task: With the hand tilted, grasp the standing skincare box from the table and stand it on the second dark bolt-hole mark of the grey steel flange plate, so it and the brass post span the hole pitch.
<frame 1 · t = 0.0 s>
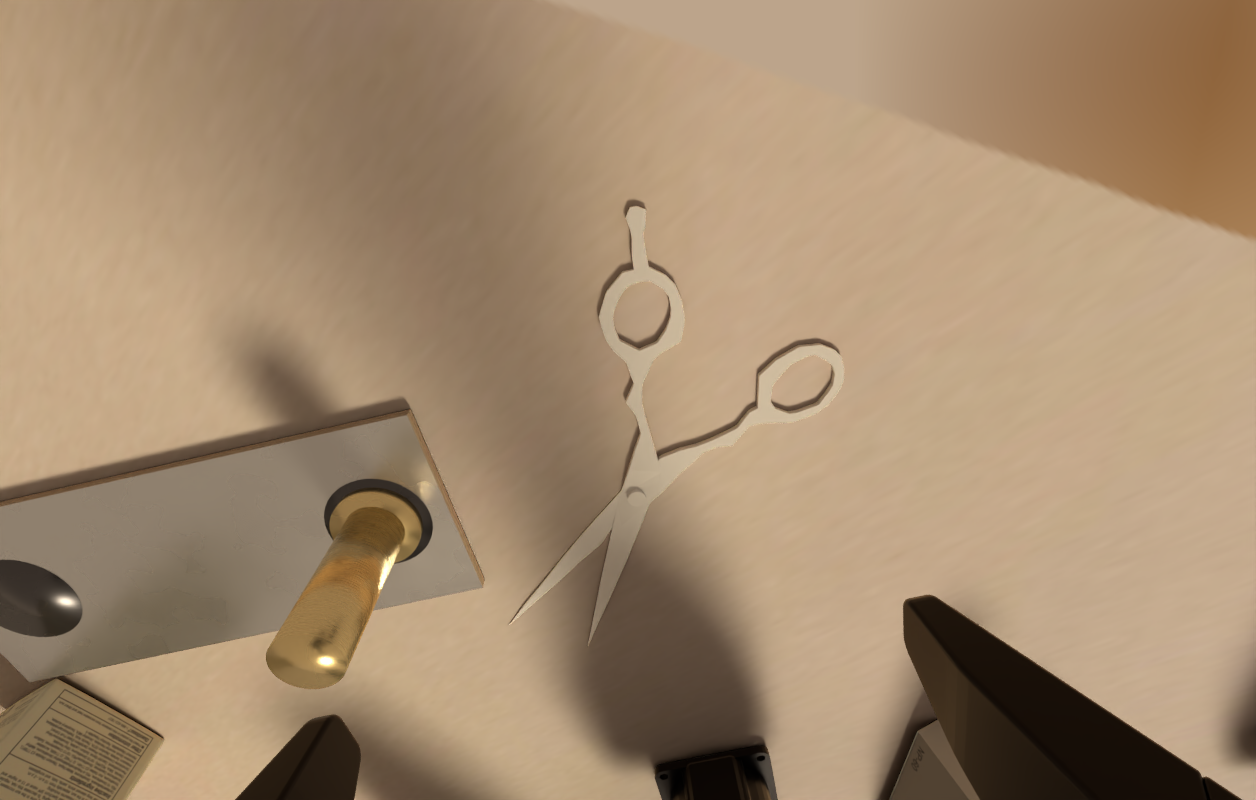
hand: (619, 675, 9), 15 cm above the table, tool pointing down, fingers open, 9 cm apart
scissors: (638, 471, 26), on the table
flange plate: (206, 554, 26), on the table
skincare box: (93, 722, 30), on the table
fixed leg: (382, 515, 25), resting on flange plate
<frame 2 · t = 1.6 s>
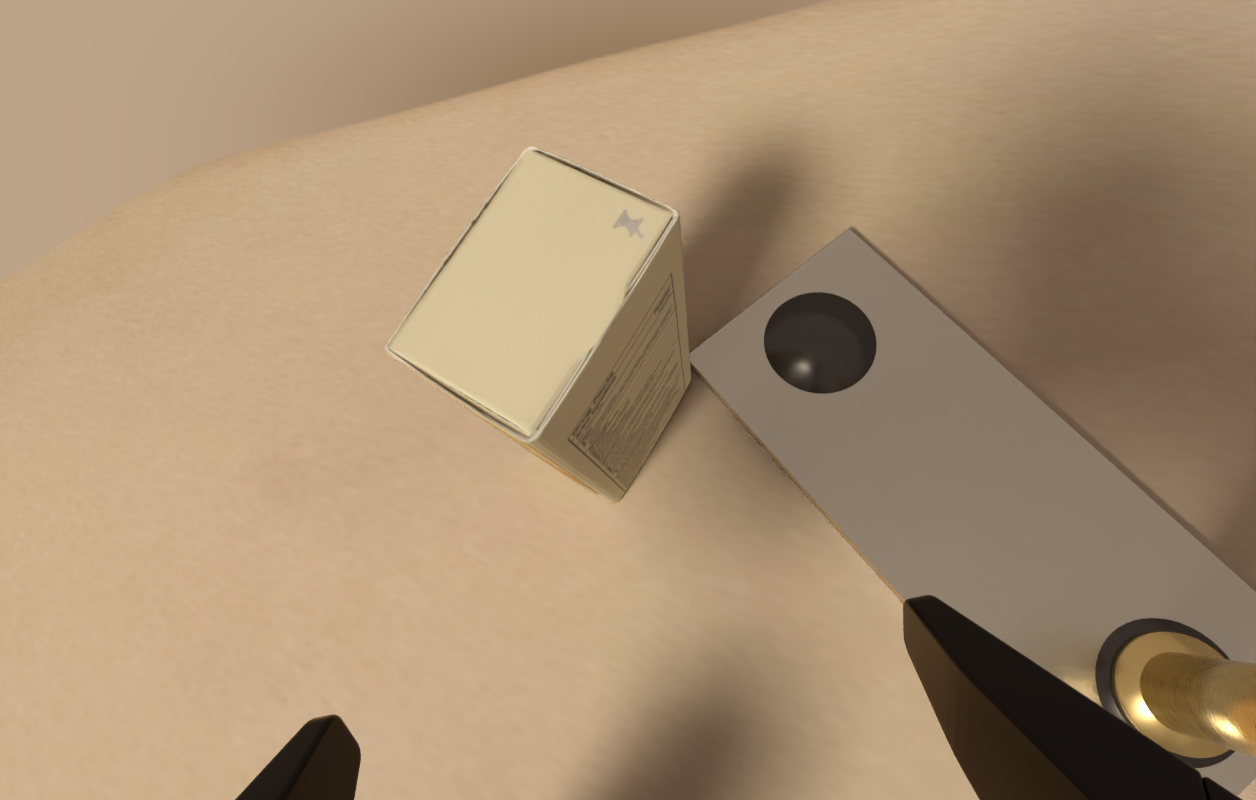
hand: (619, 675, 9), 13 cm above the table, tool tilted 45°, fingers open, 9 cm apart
flange plate: (969, 498, 22), on the table
skincare box: (611, 421, 25), on the table
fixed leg: (1159, 688, 20), resting on flange plate
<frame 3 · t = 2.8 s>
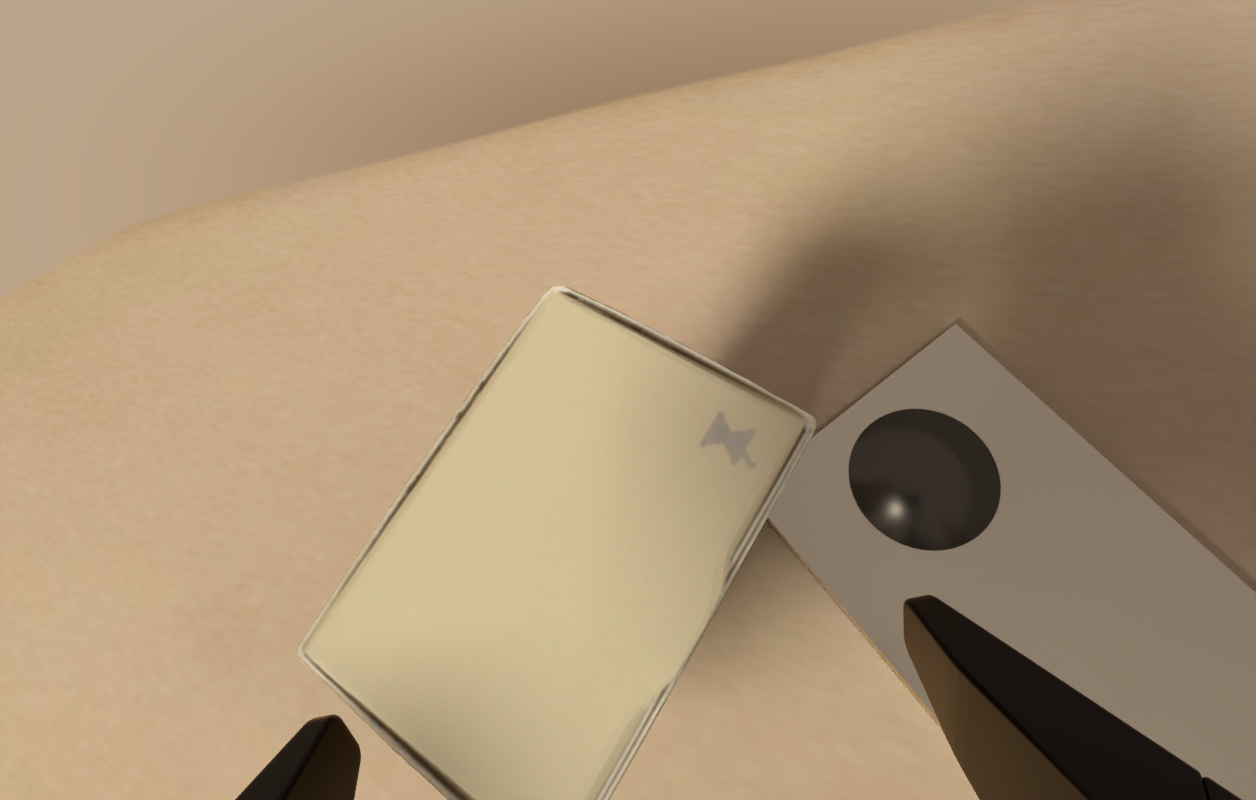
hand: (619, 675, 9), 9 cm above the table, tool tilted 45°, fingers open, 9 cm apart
flange plate: (1139, 709, 16), on the table
skincare box: (647, 571, 19), on the table
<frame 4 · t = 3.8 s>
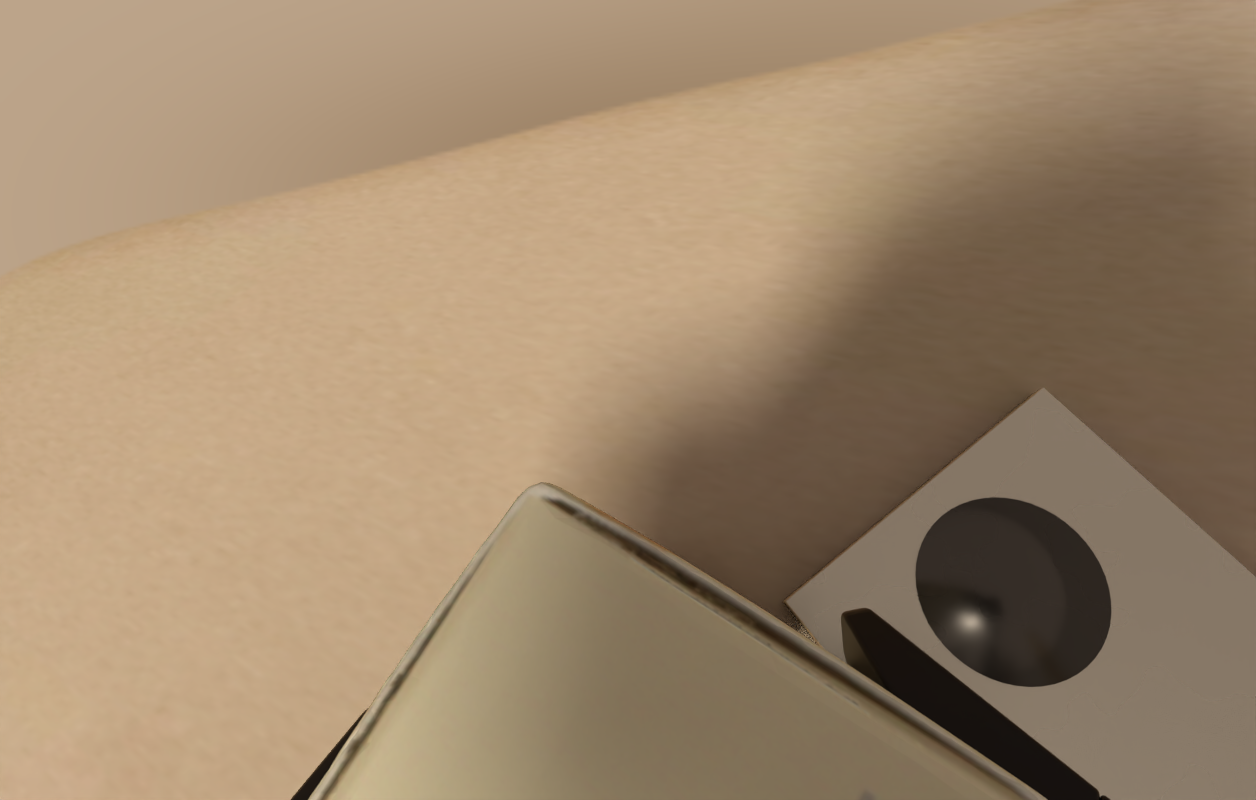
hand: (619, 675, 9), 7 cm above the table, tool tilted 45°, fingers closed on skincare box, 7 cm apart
skincare box: (662, 699, 15), on the table, touching gripper
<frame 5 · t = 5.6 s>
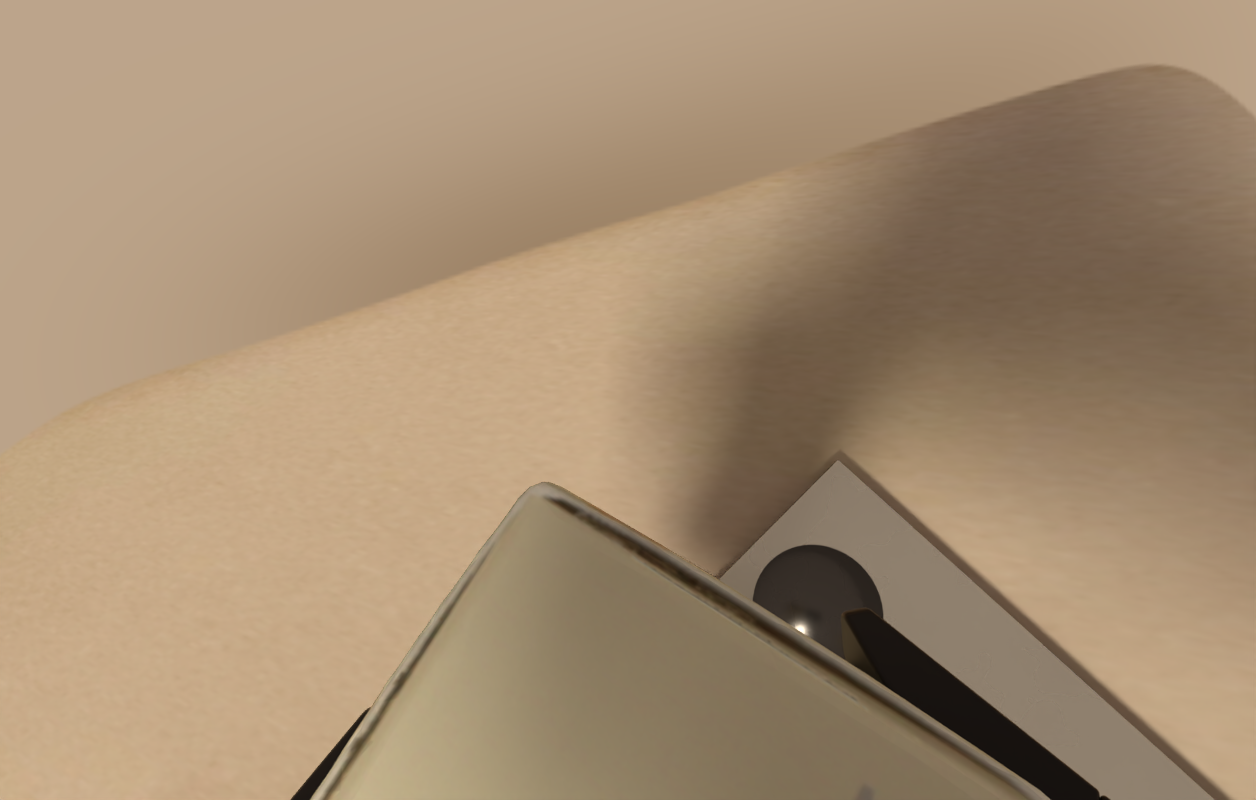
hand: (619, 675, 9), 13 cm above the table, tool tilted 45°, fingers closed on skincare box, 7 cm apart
skincare box: (658, 698, 15), point 6 cm above the table, touching gripper
when the fingers open (8 cm above the table, at t = 7.3 s): skincare box drops 1 cm, resting on flange plate.
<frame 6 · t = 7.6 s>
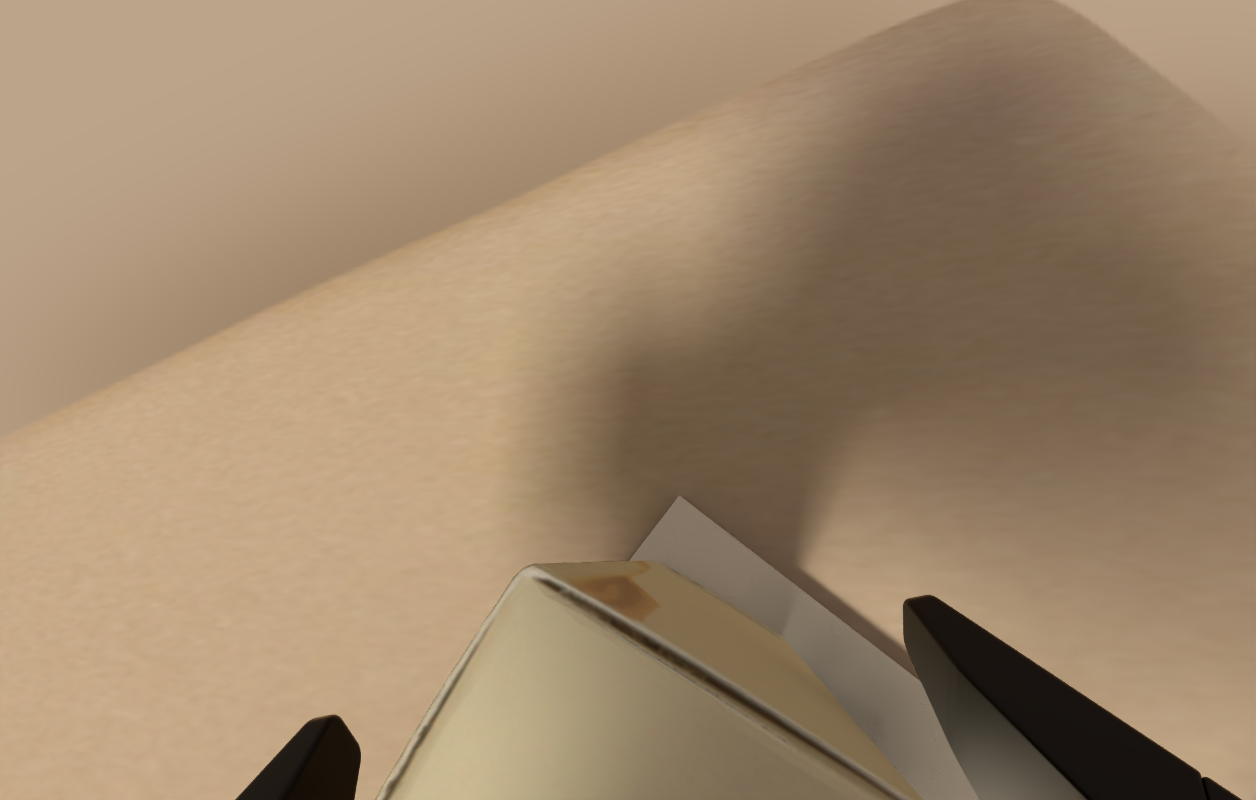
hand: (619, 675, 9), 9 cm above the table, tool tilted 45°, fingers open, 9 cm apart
skincare box: (663, 700, 16), resting on flange plate
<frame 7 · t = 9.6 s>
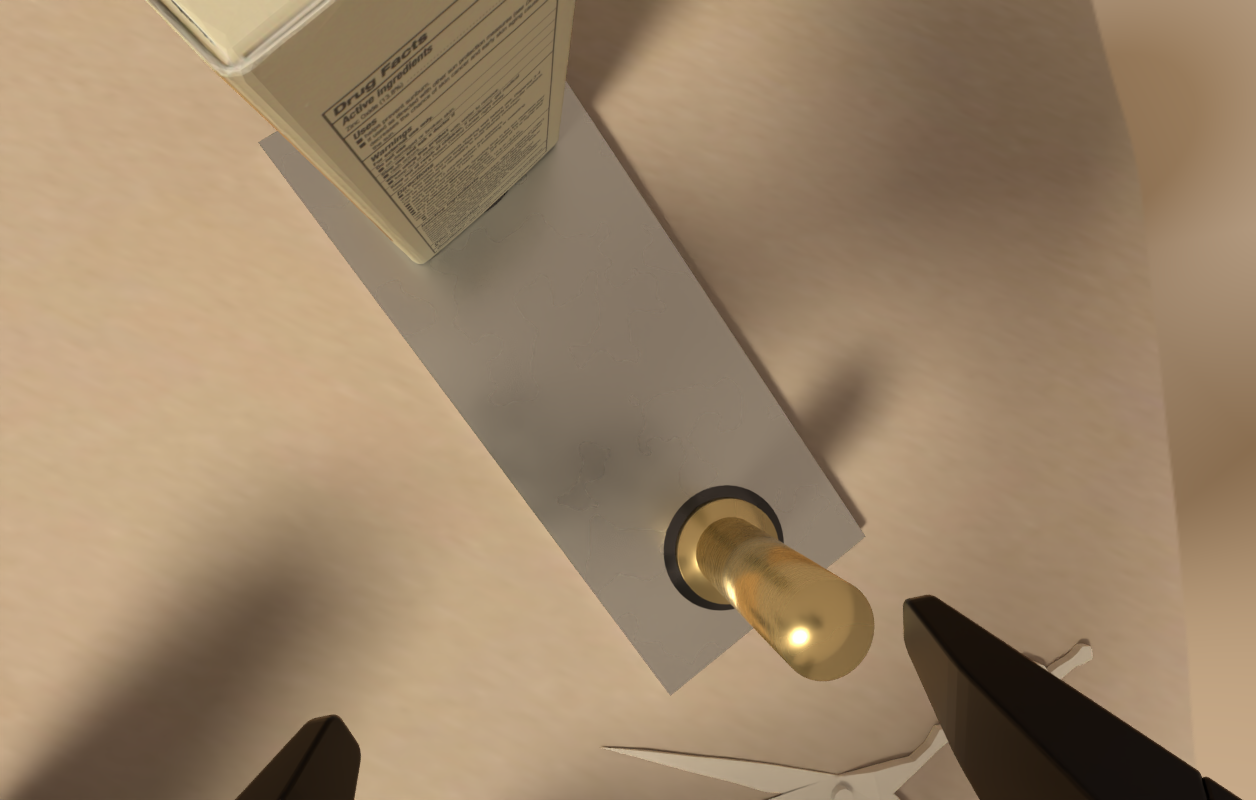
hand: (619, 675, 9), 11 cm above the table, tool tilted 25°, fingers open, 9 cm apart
scissors: (847, 775, 23), on the table
flange plate: (591, 360, 20), on the table
skincare box: (441, 159, 19), resting on flange plate
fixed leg: (719, 544, 21), resting on flange plate
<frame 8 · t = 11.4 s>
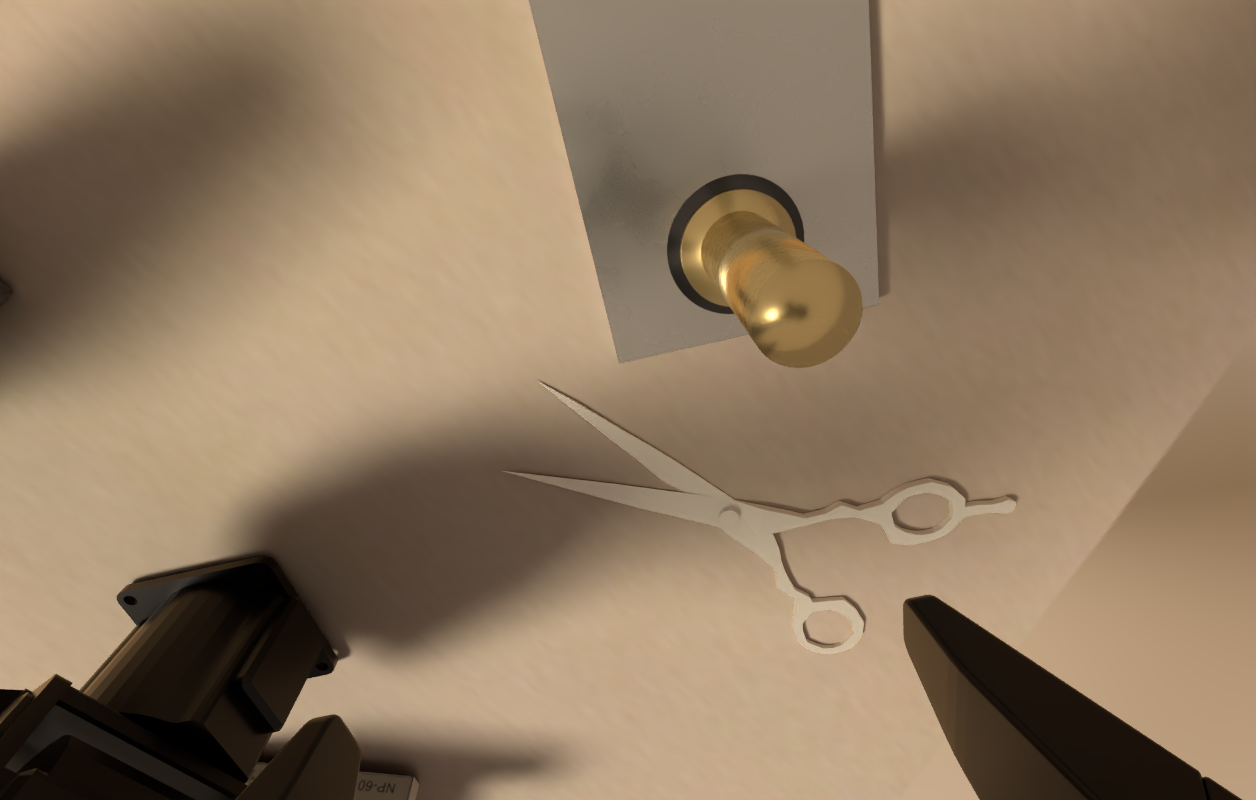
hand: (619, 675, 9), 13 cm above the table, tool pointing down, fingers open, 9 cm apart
scissors: (741, 505, 25), on the table
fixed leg: (732, 244, 19), resting on flange plate
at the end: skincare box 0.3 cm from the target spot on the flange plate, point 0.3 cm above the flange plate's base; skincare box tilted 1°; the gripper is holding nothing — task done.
